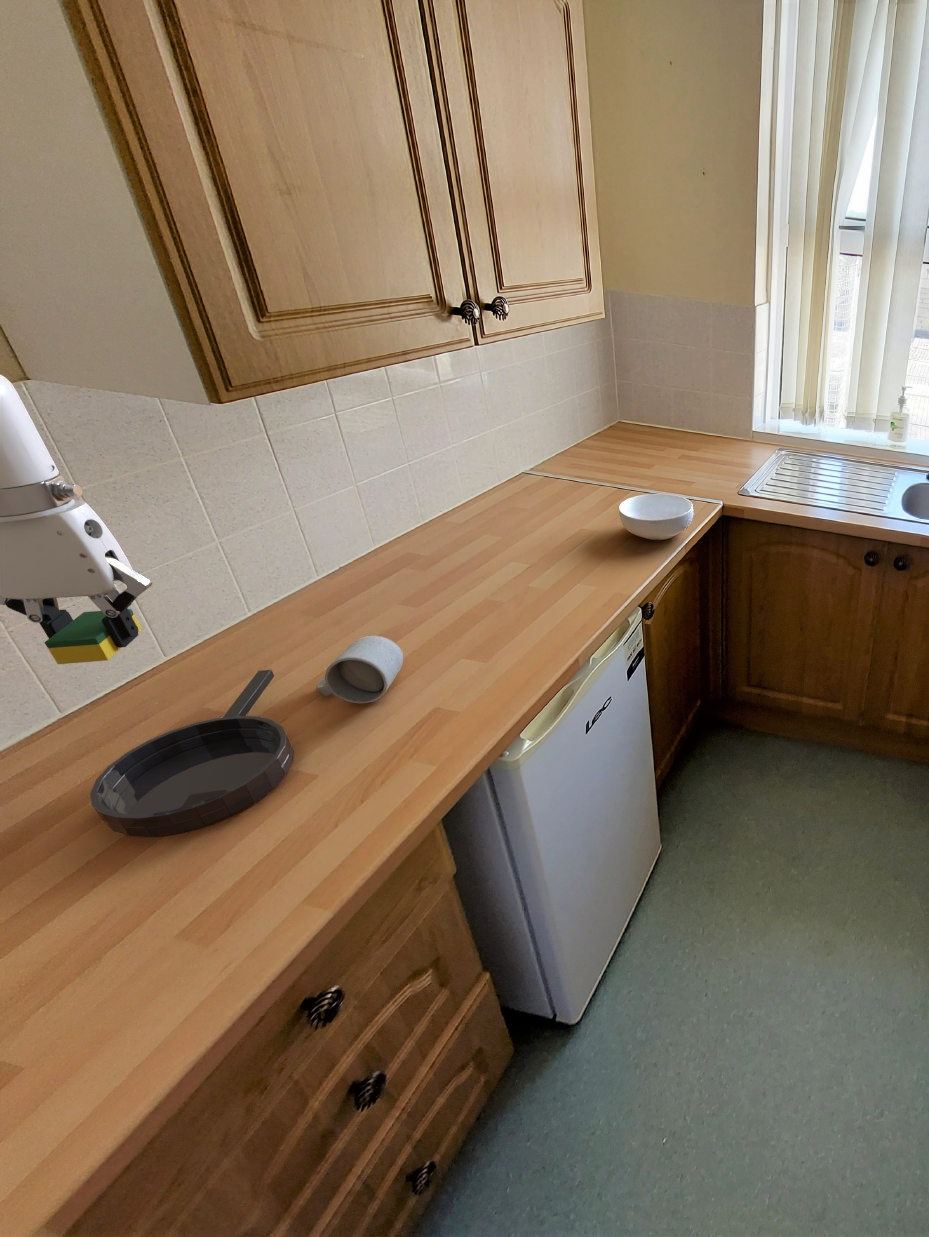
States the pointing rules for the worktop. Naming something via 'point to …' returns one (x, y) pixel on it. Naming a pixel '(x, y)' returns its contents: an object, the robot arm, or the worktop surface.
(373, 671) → the ceramic mug
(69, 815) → the worktop surface
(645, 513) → the cereal bowl
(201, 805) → the pan
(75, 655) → the sponge
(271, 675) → the pan handle
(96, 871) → the worktop surface
